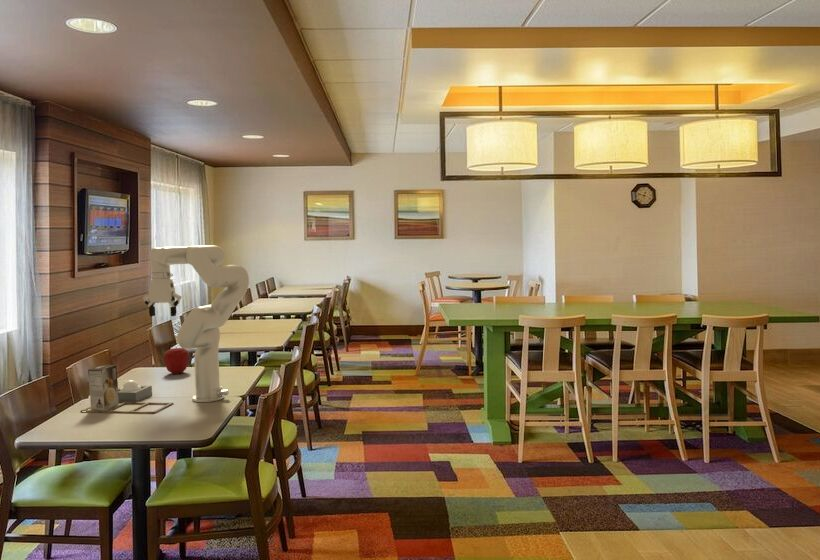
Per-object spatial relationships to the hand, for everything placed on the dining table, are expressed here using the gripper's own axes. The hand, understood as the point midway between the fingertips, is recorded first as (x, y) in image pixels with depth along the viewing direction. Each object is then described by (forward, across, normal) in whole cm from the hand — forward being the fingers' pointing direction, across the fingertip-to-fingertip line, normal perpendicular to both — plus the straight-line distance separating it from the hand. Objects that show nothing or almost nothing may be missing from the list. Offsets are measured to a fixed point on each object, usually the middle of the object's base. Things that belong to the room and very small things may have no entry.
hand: (162, 316), depth 281 cm
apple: (+34, +16, -38) cm, 53 cm away
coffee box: (+33, +12, +26) cm, 44 cm away
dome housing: (+33, +10, +11) cm, 36 cm away
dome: (+32, +10, +11) cm, 35 cm away
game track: (+33, +2, +26) cm, 42 cm away
